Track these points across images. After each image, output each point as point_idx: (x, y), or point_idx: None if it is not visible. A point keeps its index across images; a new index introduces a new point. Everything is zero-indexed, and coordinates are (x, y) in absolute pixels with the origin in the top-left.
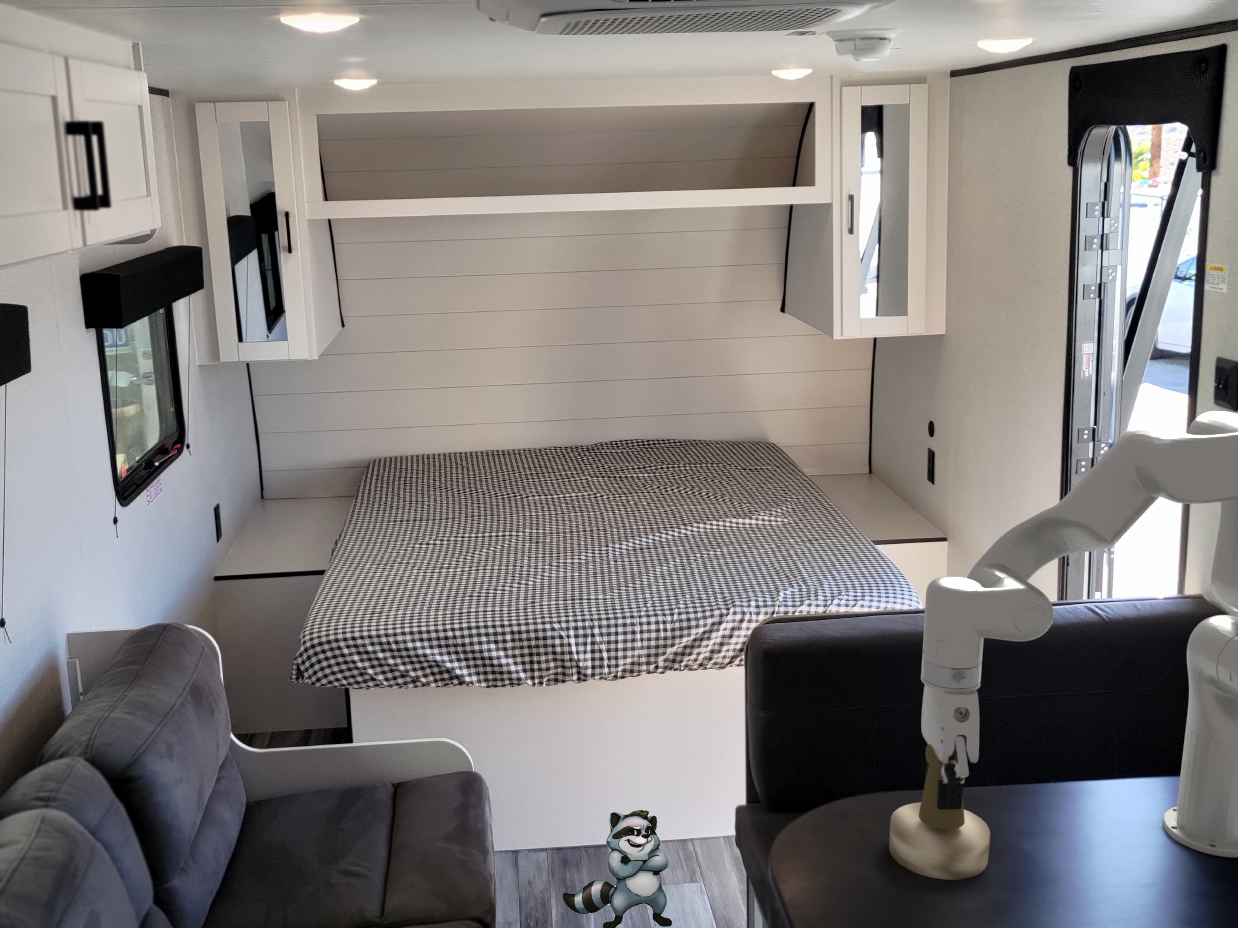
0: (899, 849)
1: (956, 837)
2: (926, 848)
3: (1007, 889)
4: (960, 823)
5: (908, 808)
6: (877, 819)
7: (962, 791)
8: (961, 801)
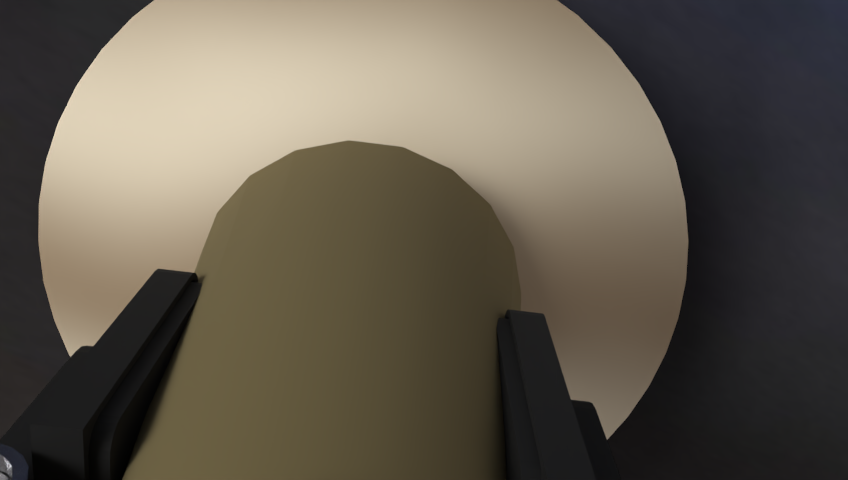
0: None
1: (523, 241)
2: None
3: (798, 9)
4: (500, 234)
5: None
6: (22, 372)
7: (568, 401)
8: (548, 343)
